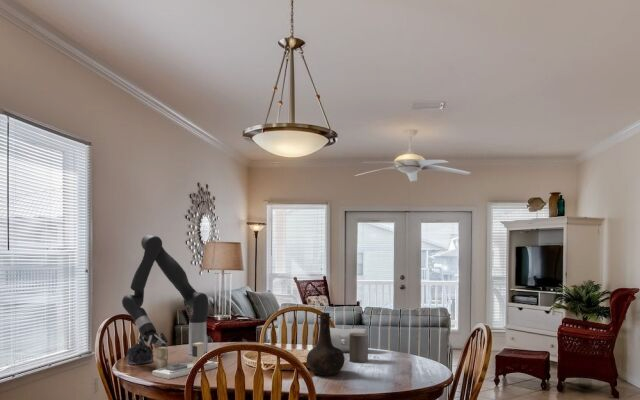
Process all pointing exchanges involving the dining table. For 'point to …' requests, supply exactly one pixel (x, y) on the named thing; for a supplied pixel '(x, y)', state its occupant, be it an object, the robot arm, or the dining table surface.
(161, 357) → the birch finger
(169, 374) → the board
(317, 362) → the dark brown vase
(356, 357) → the pillar candle
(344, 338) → the tank
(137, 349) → the crystal cluster
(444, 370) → the dining table surface
